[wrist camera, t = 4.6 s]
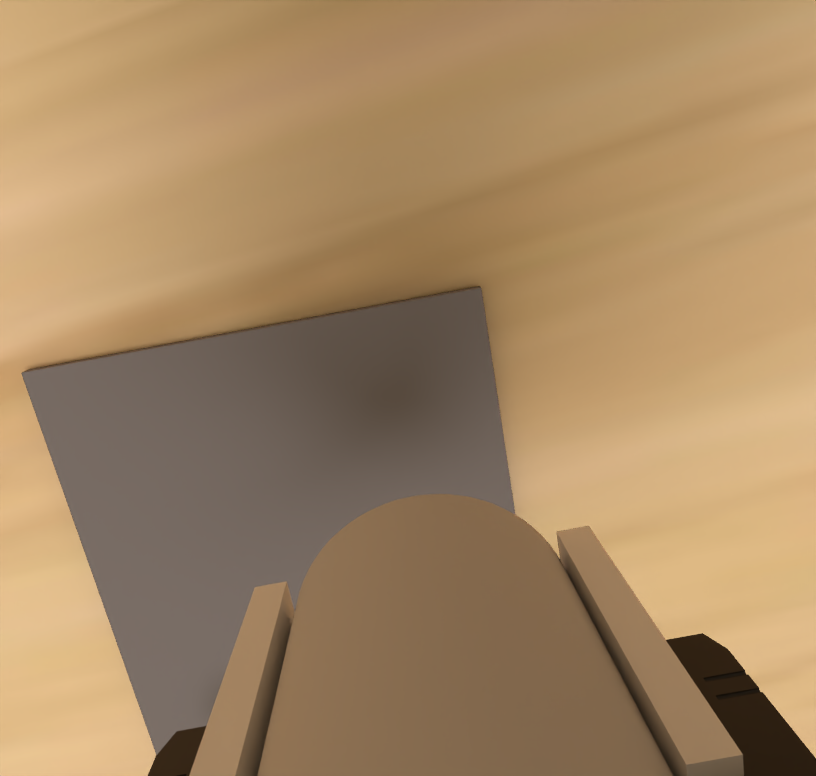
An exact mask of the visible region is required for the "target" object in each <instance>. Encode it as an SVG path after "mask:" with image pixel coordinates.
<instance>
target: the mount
mask: <svg viewBox="0 0 816 776" xmlns="http://www.w3.org/2000/svg"><path fill="white" fill-rule="evenodd" d="M21 374H22V376H23V379H24V382H25V385H26V388H27V390H28V393H29V396H30V399H31V402H32V405H33V407H34V410H35V413H36V416H37V419H38V422H39V424H40V427H41V430H42V433H43V436H44V438H45V441H46V444H47V447H48V450H49V453H50V455H51V458H52V461H53V464H54V467H55V470H56V472H57V475H58V478H59V481H60V484H61V486H62V489H63V492H64V495H65V498H66V501H67V503H68V506H69V509H70V512H71V515H72V518H73V520H74V523H75V526H76V529H77V532H78V534H79V537H80V540H81V543H82V546H83V549H84V551H85V554H86V557H87V560H88V563H89V566H90V568H91V571H92V574H93V577H94V580H95V582H96V585H97V588H98V591H99V594H100V597H101V599H102V602H103V605H104V608H105V611H106V614H107V616H108V619H109V622H110V625H111V628H112V630H113V633H114V636H115V639H116V642H117V645H118V647H119V650H120V653H121V656H122V659H123V662H124V664H125V667H126V670H127V673H128V676H129V678H130V681H131V684H132V687H133V690H134V693H135V695H136V698H137V701H138V704H139V707H140V710H141V712H142V715H143V718H144V721H145V724H146V726H147V729H148V732H149V735H150V738H151V741H152V743H153V746H154V749H155V752H156V755H157V754H158V753H159V752H160V751H161V749H162V748H163V747H164V746H165V745H166V743H167V742H168V741H169V740H170V739H171V737H172V736H173V735H174V734H175V733H176V731H181V730H186V729H192V728H197V727H203V726H207V723H208V720H209V717H210V715H211V712H212V709H213V706H214V703H215V700H216V697H217V695H218V692H219V689H220V686H221V683H222V680H223V677H224V674H225V672H226V669H227V666H228V663H229V660H230V657H231V654H232V651H233V649H234V646H235V643H236V640H237V637H238V634H239V631H240V628H241V626H242V623H243V620H244V617H245V614H246V611H247V608H248V605H249V603H250V600H251V597H252V594H253V591H254V588H255V587H259V586H264V585H270V584H275V583H281V582H286V581H287V584H288V588H289V592H290V596H291V599H292V603H293V607H294V611H295V609H296V604H297V600H298V596H299V592H300V589H301V586H302V583H303V581H304V578H305V576H306V574H307V572H308V570H309V568H310V566H311V565H312V563H313V561H314V559H315V558H316V556H317V555H318V554H319V552H320V551H321V550H322V548H323V547H324V546H325V545H326V544H327V543H328V541H329V540H330V539H331V538H332V537H333V536H334V535H335V534H337V533H338V532H339V531H340V530H341V529H342V528H344V527H345V526H346V525H347V524H349V523H350V522H352V521H353V520H355V519H356V518H357V517H359V516H361V515H363V514H364V513H366V512H368V511H370V510H372V509H374V508H376V507H379V506H381V505H383V504H386V503H389V502H391V501H395V500H398V499H403V498H407V497H412V496H417V495H429V494H451V495H460V496H467V497H472V498H476V499H479V500H483V501H486V502H489V503H492V504H494V505H497V506H499V507H501V508H503V509H505V510H507V511H509V512H511V513H513V514H515V510H514V503H513V496H512V490H511V483H510V476H509V470H508V463H507V456H506V450H505V443H504V436H503V430H502V423H501V416H500V410H499V403H498V396H497V390H496V383H495V376H494V370H493V363H492V356H491V350H490V343H489V336H488V330H487V323H486V316H485V310H484V303H483V296H482V290H481V287H480V286H478V287H473V288H467V289H462V290H456V291H451V292H446V293H440V294H435V295H429V296H424V297H419V298H413V299H408V300H402V301H397V302H391V303H386V304H381V305H375V306H370V307H364V308H359V309H354V310H348V311H343V312H337V313H332V314H327V315H321V316H316V317H310V318H305V319H300V320H294V321H289V322H283V323H278V324H273V325H267V326H262V327H256V328H251V329H246V330H240V331H235V332H229V333H224V334H219V335H213V336H208V337H202V338H197V339H192V340H186V341H181V342H175V343H170V344H164V345H159V346H154V347H148V348H143V349H137V350H132V351H127V352H121V353H116V354H110V355H105V356H100V357H94V358H89V359H83V360H78V361H73V362H67V363H62V364H56V365H51V366H46V367H40V368H35V369H29V370H27V371H24V372H22V373H21Z"/></svg>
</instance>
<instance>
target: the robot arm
mask: <svg viewBox="0 0 816 776" xmlns="http://www.w3.org/2000/svg"><path fill="white" fill-rule="evenodd" d="M557 539H558V547H559V554H560V561H561V562H562V564H563V566H564V568H565V570H566V572H567V574H568V575H569V577H570V579H571V581H572V583H573V585H574V587H575V589H576V591H577V593H578V595H579V596H580V598H581V600H582V602H583V604H584V606H585V608H586V610H587V612H588V614H589V615H590V617H591V619H592V621H593V623H594V625H595V627H596V629H597V631H598V633H599V634H600V636H601V638H602V640H603V642H604V644H605V646H606V648H607V650H608V652H609V654H610V655H611V657H612V659H613V661H614V663H615V665H616V667H617V669H618V671H619V673H620V674H621V676H622V678H623V680H624V682H625V684H626V686H627V688H628V690H629V692H630V694H631V695H632V697H633V699H634V701H635V703H636V705H637V707H638V709H639V711H640V713H641V714H642V716H643V718H644V720H645V722H646V724H647V726H648V728H649V730H650V732H651V733H652V735H653V737H654V739H655V741H656V743H657V745H658V747H659V749H660V751H661V753H662V754H663V756H664V758H665V760H666V762H667V764H668V766H669V768H670V770H671V772H672V773H673V775H674V776H816V758H815V757H814V756H813V754H812V753H811V752H810V751H809V749H808V748H807V747H806V746H805V745H804V743H803V742H802V741H801V740H800V738H799V737H798V736H797V735H796V733H795V732H794V731H793V730H792V728H791V727H790V726H789V725H788V723H787V722H786V721H785V720H784V718H783V717H782V716H781V715H780V713H779V712H778V711H777V710H776V708H775V707H774V706H773V705H772V703H771V702H770V701H769V700H768V699H767V697H766V696H765V695H764V694H763V692H760V690H759V687H758V686H757V685H756V684H755V682H754V681H753V680H752V679H751V677H750V676H749V675H746V673H745V670H744V669H743V667H742V666H741V665H740V664H739V662H738V661H737V660H736V659H735V657H734V656H733V655H732V654H731V652H730V651H729V650H728V649H727V648H725V647H723V646H722V645H720V644H719V643H717V642H715V641H714V640H712V639H711V638H709V637H708V636H706V635H704V634H703V633H702V634H697V635H691V636H686V637H680V638H675V639H669V640H665V638H664V637H663V635H662V634H661V632H660V631H659V629H658V628H657V626H656V625H655V623H654V622H653V620H652V619H651V617H650V616H649V615H648V613H647V612H646V610H645V609H644V607H643V606H642V604H641V603H640V601H639V600H638V598H637V597H636V595H635V594H634V592H633V591H632V589H631V588H630V586H629V585H628V583H627V582H626V580H625V579H624V577H623V576H622V574H621V573H620V571H619V570H618V568H617V567H616V566H615V564H614V563H613V561H612V560H611V558H610V557H609V555H608V554H607V552H606V551H605V549H604V548H603V546H602V545H601V543H600V542H599V540H598V539H597V537H596V536H595V534H594V533H593V531H592V530H591V528H590V527H589V526H584V527H579V528H573V529H568V530H563V531H557ZM294 613H295V611H294V607H293V603H292V599H291V596H290V592H289V588H288V584H287V581H286V582H281V583H275V584H270V585H264V586H259V587H255V588H254V591H253V594H252V597H251V600H250V603H249V605H248V608H247V611H246V614H245V617H244V620H243V623H242V626H241V628H240V631H239V634H238V637H237V640H236V643H235V646H234V649H233V651H232V654H231V657H230V660H229V663H228V666H227V669H226V672H225V674H224V677H223V680H222V683H221V686H220V689H219V692H218V695H217V697H216V700H215V703H214V706H213V709H212V712H211V715H210V717H209V720H208V723H207V726H203V727H197V728H192V729H186V730H181V731H176V733H175V734H174V735H173V736H172V737H171V739H170V740H169V741H168V742H167V743H166V745H165V746H164V747H163V748H162V749H161V751H160V752H159V753H158V754H157V755H156V758H155V760H154V762H153V765H152V767H151V769H150V772H149V774H148V776H257V775H258V770H259V766H260V762H261V757H262V753H263V749H264V744H265V740H266V735H267V731H268V727H269V722H270V718H271V714H272V709H273V705H274V700H275V696H276V692H277V687H278V683H279V679H280V674H281V670H282V665H283V661H284V657H285V652H286V648H287V644H288V639H289V635H290V630H291V626H292V622H293V617H294Z"/></svg>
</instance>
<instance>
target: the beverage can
mask: <svg viewBox="0 0 816 776" xmlns="http://www.w3.org/2000/svg"><path fill="white" fill-rule="evenodd" d="M257 776H674V775H673V773H672V772H671V770H670V768H669V766H668V764H667V762H666V760H665V758H664V756H663V754H662V753H661V751H660V749H659V747H658V745H657V743H656V741H655V739H654V737H653V735H652V733H651V732H650V730H649V728H648V726H647V724H646V722H645V720H644V718H643V716H642V714H641V713H640V711H639V709H638V707H637V705H636V703H635V701H634V699H633V697H632V695H631V694H630V692H629V690H628V688H627V686H626V684H625V682H624V680H623V678H622V676H621V674H620V673H619V671H618V669H617V667H616V665H615V663H614V661H613V659H612V657H611V655H610V654H609V652H608V650H607V648H606V646H605V644H604V642H603V640H602V638H601V636H600V634H599V633H598V631H597V629H596V627H595V625H594V623H593V621H592V619H591V617H590V615H589V614H588V612H587V610H586V608H585V606H584V604H583V602H582V600H581V598H580V596H579V595H578V593H577V591H576V589H575V587H574V585H573V583H572V581H571V579H570V577H569V575H568V574H567V572H566V570H565V568H564V566H563V564H562V562H561V561H560V559H559V557H558V556H557V554H556V553H555V551H554V550H553V548H552V547H551V546H550V544H549V543H548V542H547V541H546V540H545V539H544V538H543V537H542V535H541V534H539V533H538V532H537V531H536V530H535V529H534V528H533V527H532V526H531V525H529V524H528V523H527V522H525V521H524V520H523V519H521V518H519V517H518V516H516V515H515V514H513V513H511V512H509V511H507V510H505V509H503V508H501V507H499V506H497V505H494V504H492V503H489V502H486V501H483V500H479V499H476V498H472V497H467V496H460V495H451V494H429V495H417V496H412V497H407V498H403V499H398V500H395V501H391V502H389V503H386V504H383V505H381V506H379V507H376V508H374V509H372V510H370V511H368V512H366V513H364V514H363V515H361V516H359V517H357V518H356V519H355V520H353V521H352V522H350V523H349V524H347V525H346V526H345V527H344V528H342V529H341V530H340V531H339V532H338V533H337V534H335V535H334V536H333V537H332V538H331V539H330V540H329V541H328V543H327V544H326V545H325V546H324V547H323V548H322V550H321V551H320V552H319V554H318V555H317V556H316V558H315V559H314V561H313V563H312V565H311V566H310V568H309V570H308V572H307V574H306V576H305V578H304V581H303V583H302V586H301V589H300V592H299V596H298V600H297V604H296V609H295V613H294V617H293V622H292V626H291V630H290V635H289V639H288V644H287V648H286V652H285V657H284V661H283V665H282V670H281V674H280V679H279V683H278V687H277V692H276V696H275V700H274V705H273V709H272V714H271V718H270V722H269V727H268V731H267V735H266V740H265V744H264V749H263V753H262V757H261V762H260V766H259V770H258V775H257Z"/></svg>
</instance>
